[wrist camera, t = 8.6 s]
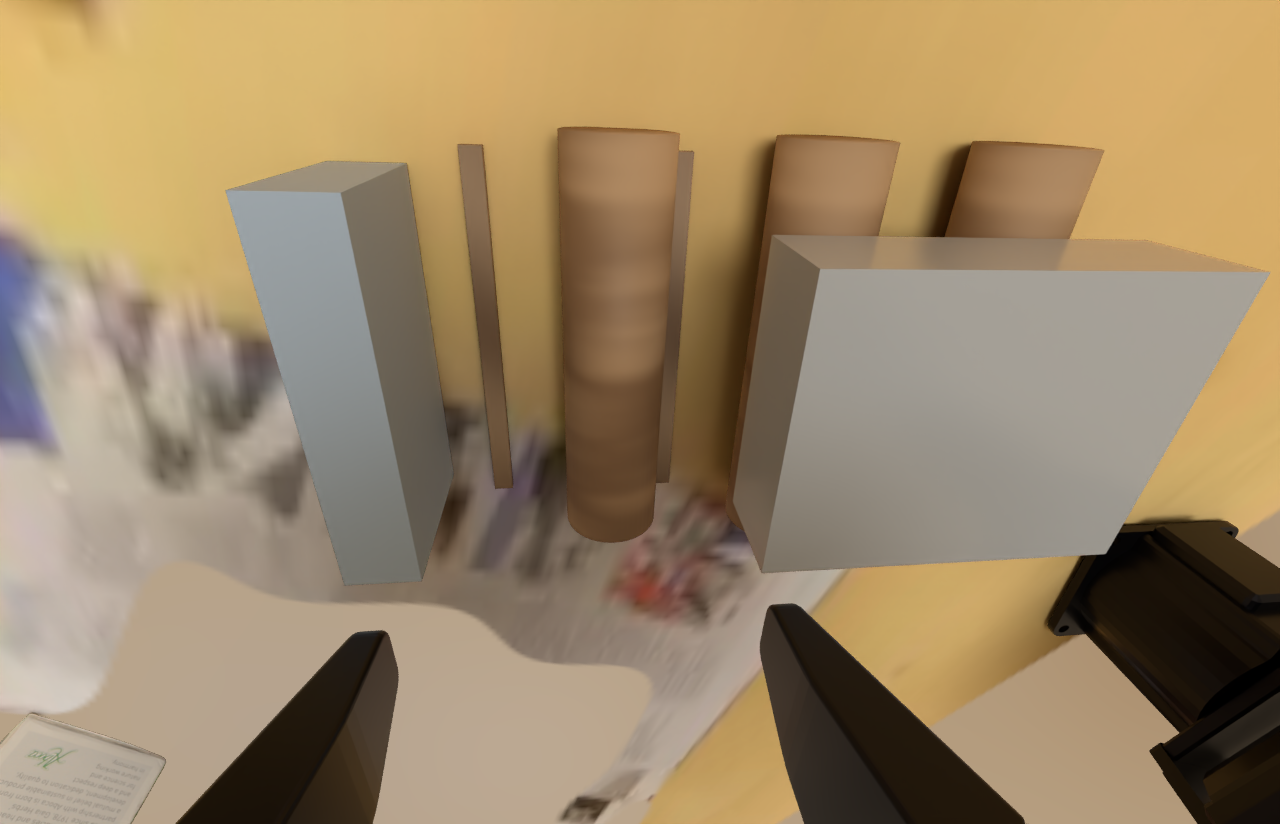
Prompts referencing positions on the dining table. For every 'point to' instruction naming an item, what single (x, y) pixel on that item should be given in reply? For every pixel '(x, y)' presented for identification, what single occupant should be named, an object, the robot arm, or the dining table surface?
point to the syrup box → (71, 775)
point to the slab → (969, 393)
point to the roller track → (800, 205)
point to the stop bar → (354, 355)
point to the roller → (614, 320)
